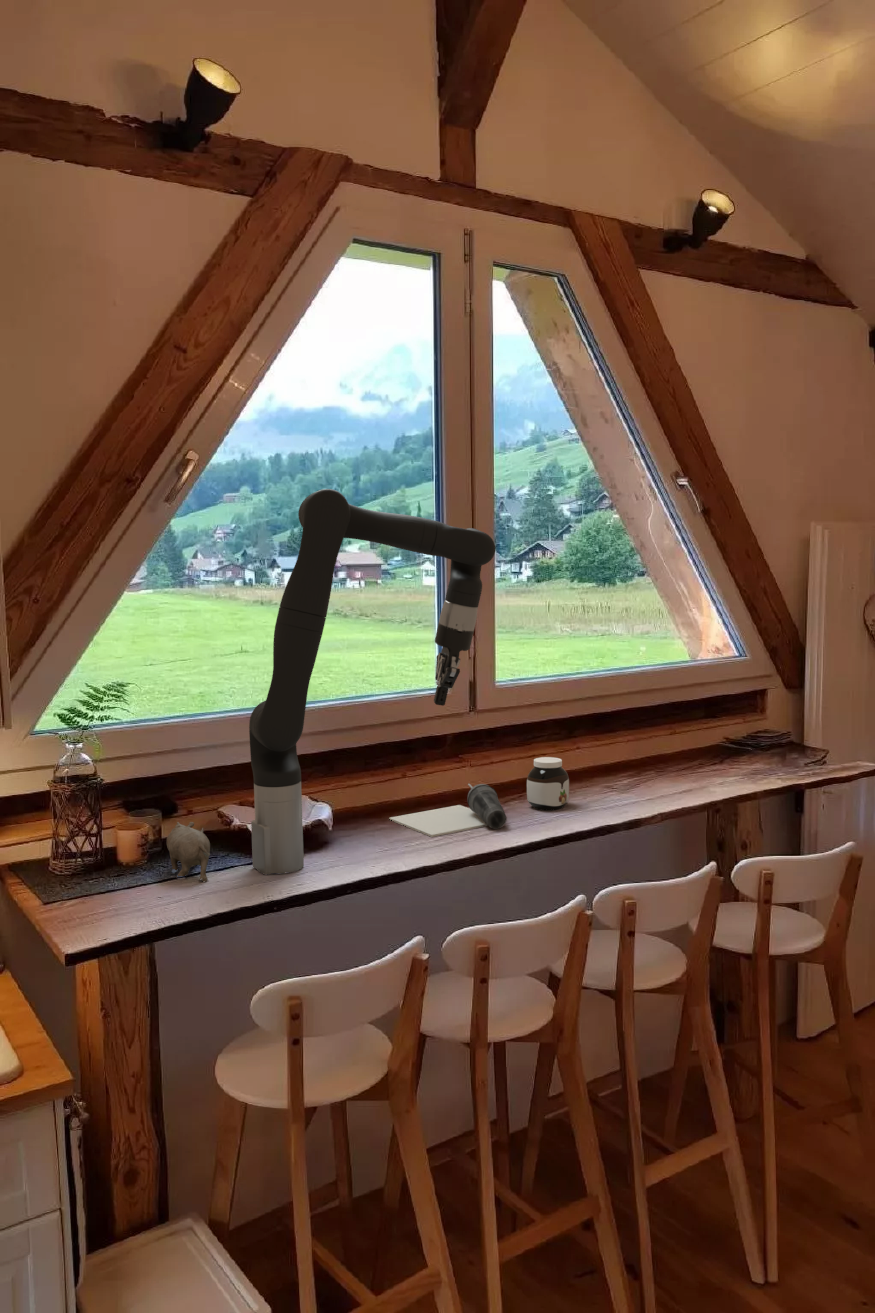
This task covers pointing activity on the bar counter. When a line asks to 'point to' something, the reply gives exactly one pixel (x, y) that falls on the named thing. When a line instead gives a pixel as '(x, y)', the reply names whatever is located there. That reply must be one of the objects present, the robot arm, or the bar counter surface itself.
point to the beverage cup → (486, 805)
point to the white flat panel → (441, 820)
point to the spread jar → (548, 784)
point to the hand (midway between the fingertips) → (438, 704)
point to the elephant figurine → (188, 849)
